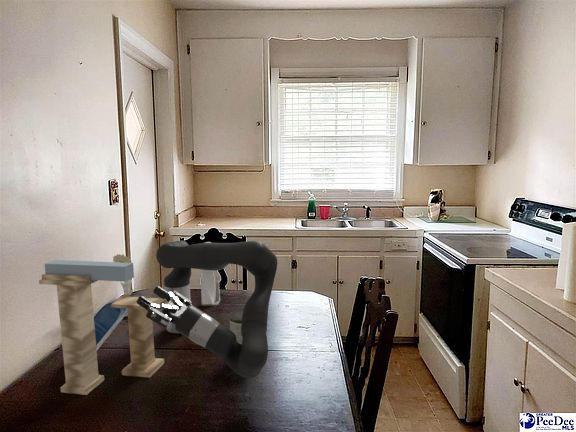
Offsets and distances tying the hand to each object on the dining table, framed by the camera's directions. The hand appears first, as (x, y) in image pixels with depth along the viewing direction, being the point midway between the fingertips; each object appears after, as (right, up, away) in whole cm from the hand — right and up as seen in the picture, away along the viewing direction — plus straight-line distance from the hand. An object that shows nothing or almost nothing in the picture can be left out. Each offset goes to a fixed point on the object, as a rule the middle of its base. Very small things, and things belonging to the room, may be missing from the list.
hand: (147, 293), depth 115 cm
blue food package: (-29, -23, +23) cm, 43 cm away
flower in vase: (-29, -20, +65) cm, 74 cm away
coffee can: (+24, -25, +25) cm, 43 cm away
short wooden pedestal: (-7, -26, +18) cm, 32 cm away
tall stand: (-21, -28, +8) cm, 36 cm away
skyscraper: (+3, -18, +76) cm, 78 cm away
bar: (-16, +4, +3) cm, 17 cm away
